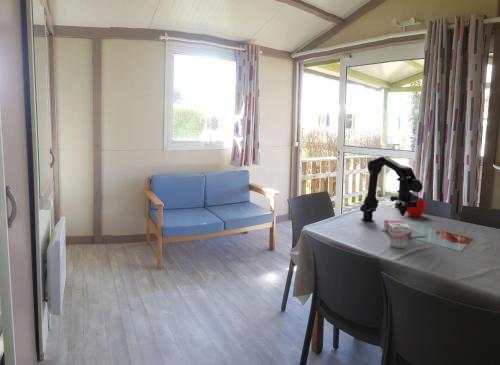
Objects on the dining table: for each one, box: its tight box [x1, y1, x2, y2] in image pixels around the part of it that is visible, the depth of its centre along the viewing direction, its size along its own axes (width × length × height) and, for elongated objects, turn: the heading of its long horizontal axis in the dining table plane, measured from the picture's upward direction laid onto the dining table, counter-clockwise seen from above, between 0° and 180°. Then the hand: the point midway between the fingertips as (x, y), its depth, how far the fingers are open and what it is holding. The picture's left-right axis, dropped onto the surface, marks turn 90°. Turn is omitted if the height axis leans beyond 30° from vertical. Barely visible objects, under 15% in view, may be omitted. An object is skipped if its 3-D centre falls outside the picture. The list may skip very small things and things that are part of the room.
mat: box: [381, 229, 427, 239], centre depth 224 cm, size 16×18×1 cm
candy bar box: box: [383, 219, 413, 236], centre depth 225 cm, size 11×5×16 cm
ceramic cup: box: [406, 199, 427, 218], centre depth 265 cm, size 13×17×10 cm
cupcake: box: [388, 228, 409, 249], centre depth 201 cm, size 9×9×10 cm
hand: (402, 215), depth 224 cm, fingers closed
